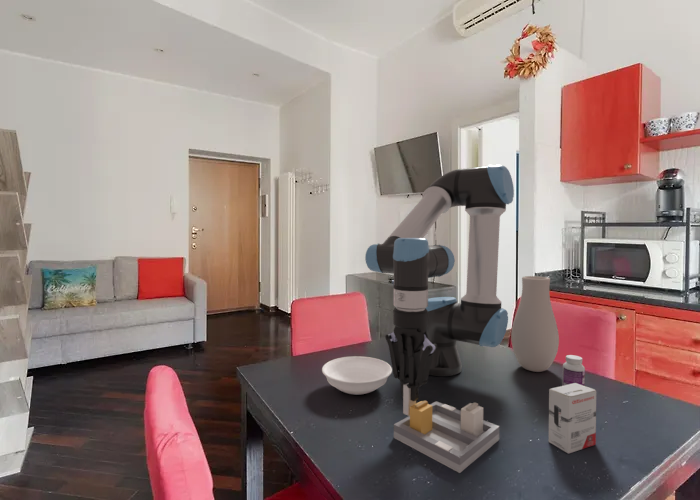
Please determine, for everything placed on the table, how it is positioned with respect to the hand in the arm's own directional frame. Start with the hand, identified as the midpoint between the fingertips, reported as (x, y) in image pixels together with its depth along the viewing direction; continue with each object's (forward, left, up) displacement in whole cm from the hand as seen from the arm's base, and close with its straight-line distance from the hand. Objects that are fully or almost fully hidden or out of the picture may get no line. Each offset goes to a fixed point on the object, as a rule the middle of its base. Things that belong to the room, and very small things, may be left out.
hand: (409, 412), depth 82 cm
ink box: (+26, +22, -5) cm, 34 cm away
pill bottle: (+18, +51, -5) cm, 54 cm away
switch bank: (+7, +4, -5) cm, 9 cm away
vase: (+4, +60, -5) cm, 60 cm away
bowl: (-24, +7, -5) cm, 25 cm away
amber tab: (+3, 0, -3) cm, 4 cm away
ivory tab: (+11, +7, -3) cm, 14 cm away
